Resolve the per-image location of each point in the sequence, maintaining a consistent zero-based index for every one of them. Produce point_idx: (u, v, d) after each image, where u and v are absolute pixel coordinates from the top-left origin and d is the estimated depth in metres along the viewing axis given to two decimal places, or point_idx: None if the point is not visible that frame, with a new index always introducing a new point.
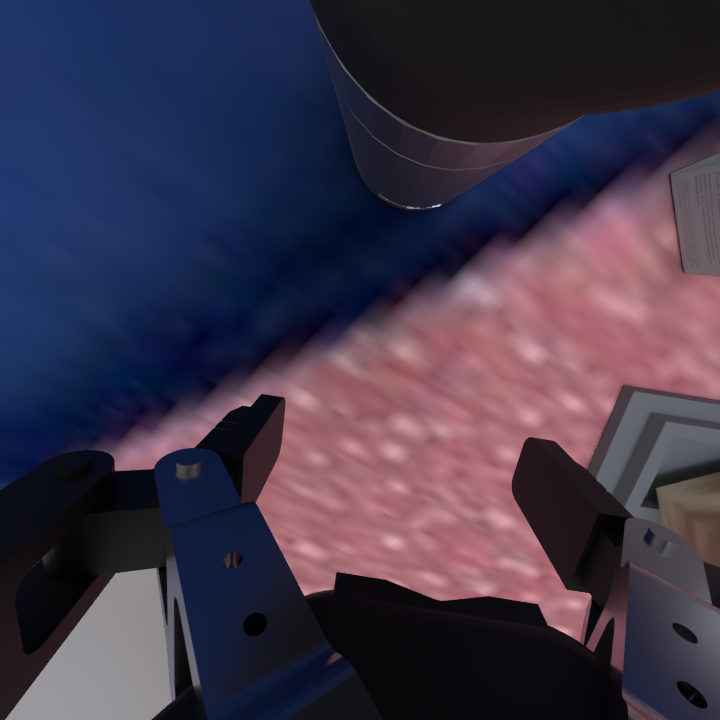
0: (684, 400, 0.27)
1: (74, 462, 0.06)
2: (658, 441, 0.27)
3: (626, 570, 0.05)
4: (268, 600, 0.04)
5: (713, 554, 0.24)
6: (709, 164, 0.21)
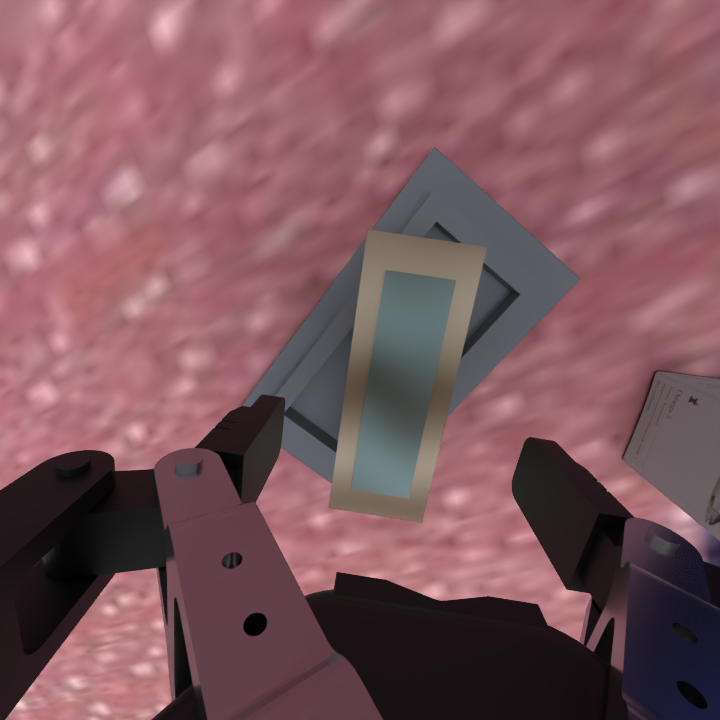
0: (529, 328, 0.23)
1: (74, 462, 0.06)
2: (527, 274, 0.20)
3: (626, 570, 0.05)
4: (268, 600, 0.04)
5: None
6: None
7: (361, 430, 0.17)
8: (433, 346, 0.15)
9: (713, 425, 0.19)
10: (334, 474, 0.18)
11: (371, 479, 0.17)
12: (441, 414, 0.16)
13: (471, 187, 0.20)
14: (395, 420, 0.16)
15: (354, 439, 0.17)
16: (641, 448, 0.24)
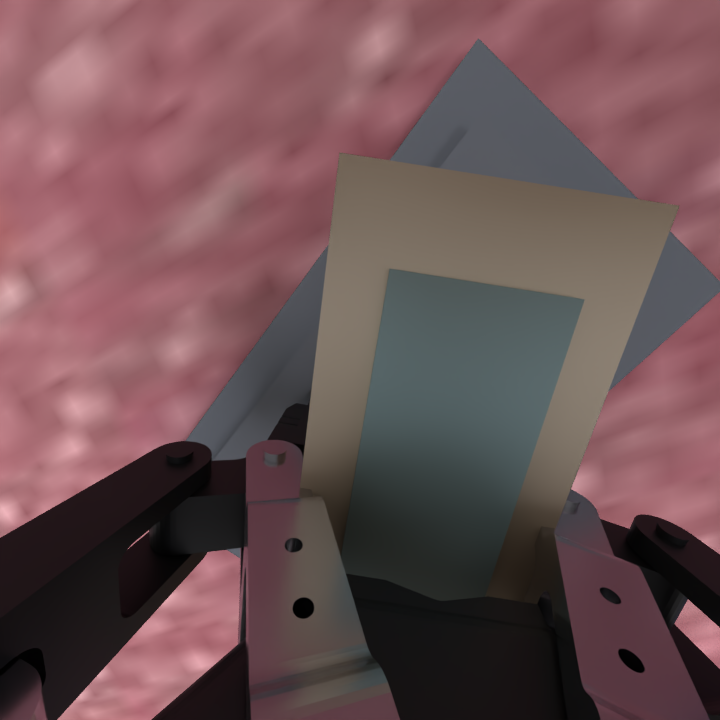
0: (626, 368, 0.13)
1: (181, 451, 0.07)
2: None
3: (552, 542, 0.06)
4: (318, 589, 0.04)
5: None
6: None
7: None
8: (509, 463, 0.06)
9: None
10: None
11: None
12: None
13: (543, 119, 0.11)
14: None
15: None
16: None
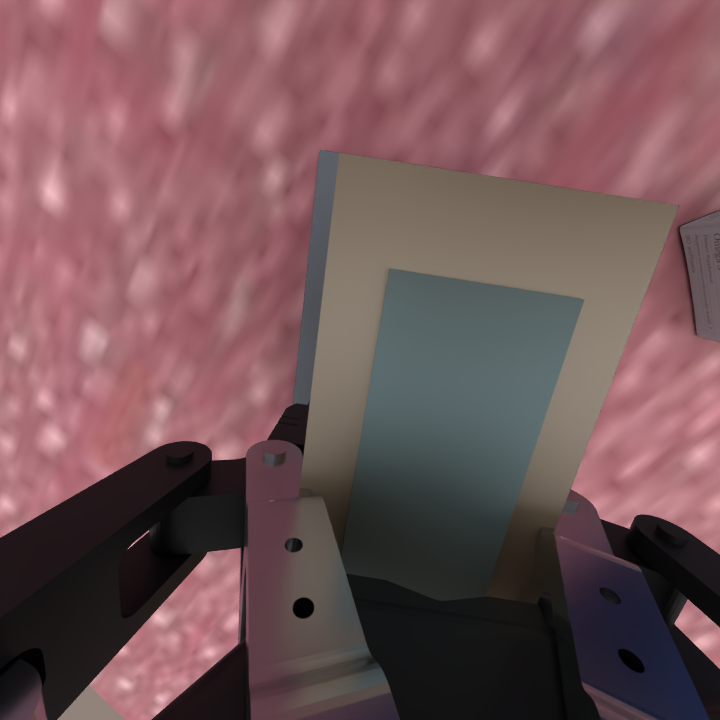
0: None
1: (180, 452, 0.07)
2: None
3: (551, 542, 0.06)
4: (318, 589, 0.04)
5: None
6: None
7: None
8: (509, 463, 0.06)
9: None
10: None
11: None
12: None
13: None
14: None
15: None
16: (710, 314, 0.20)
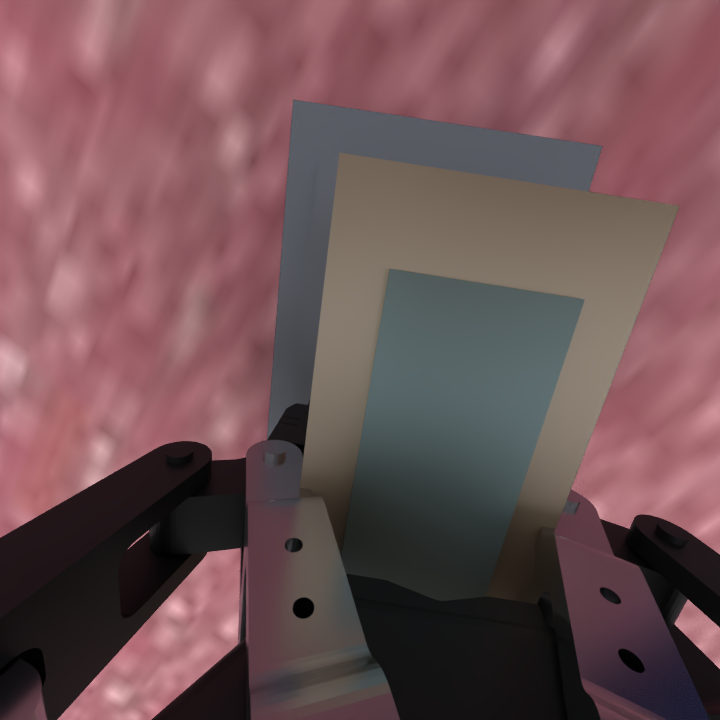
0: None
1: (180, 452, 0.07)
2: None
3: (552, 542, 0.06)
4: (318, 590, 0.04)
5: None
6: None
7: None
8: (509, 463, 0.06)
9: None
10: None
11: None
12: None
13: (372, 120, 0.13)
14: None
15: None
16: None
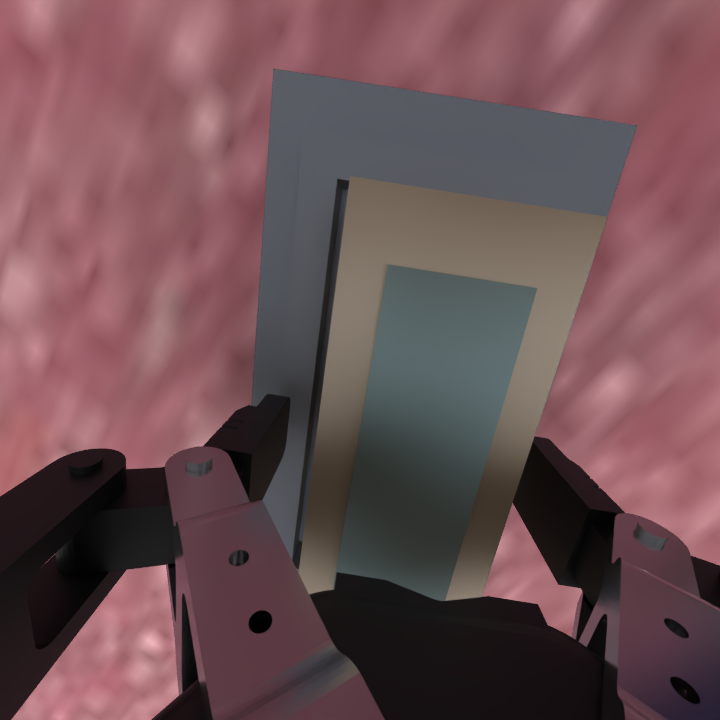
0: None
1: (87, 461, 0.06)
2: (541, 172, 0.10)
3: (617, 566, 0.05)
4: (273, 598, 0.04)
5: None
6: None
7: (340, 563, 0.09)
8: (483, 418, 0.08)
9: None
10: None
11: None
12: (489, 536, 0.09)
13: (367, 94, 0.11)
14: (402, 547, 0.09)
15: (329, 574, 0.09)
16: None
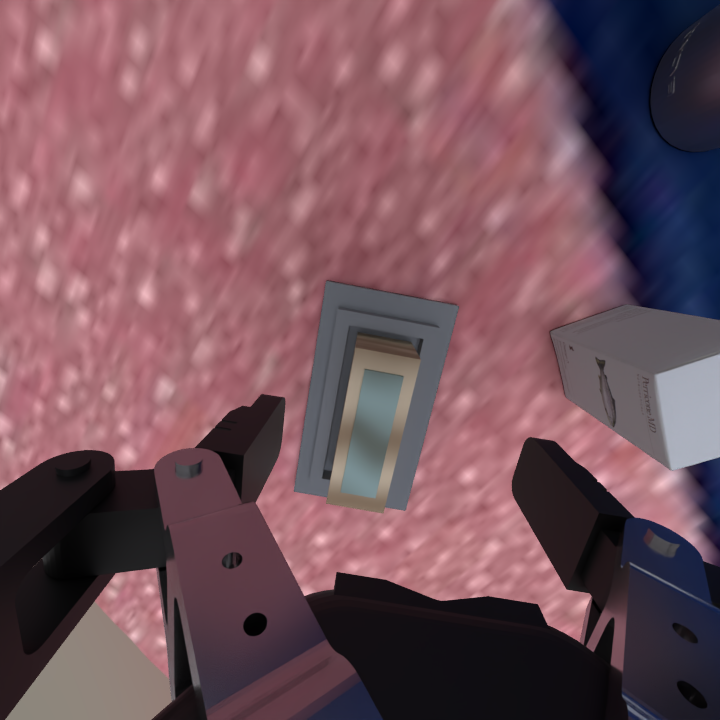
0: (446, 349, 0.32)
1: (74, 462, 0.06)
2: (421, 326, 0.30)
3: (626, 570, 0.05)
4: (268, 600, 0.04)
5: (398, 352, 0.27)
6: (651, 309, 0.29)
7: (348, 457, 0.28)
8: (391, 411, 0.27)
9: (584, 362, 0.28)
10: (330, 483, 0.29)
11: (353, 486, 0.29)
12: (395, 448, 0.28)
13: (360, 291, 0.31)
14: (368, 451, 0.28)
15: (344, 462, 0.28)
16: (568, 386, 0.32)
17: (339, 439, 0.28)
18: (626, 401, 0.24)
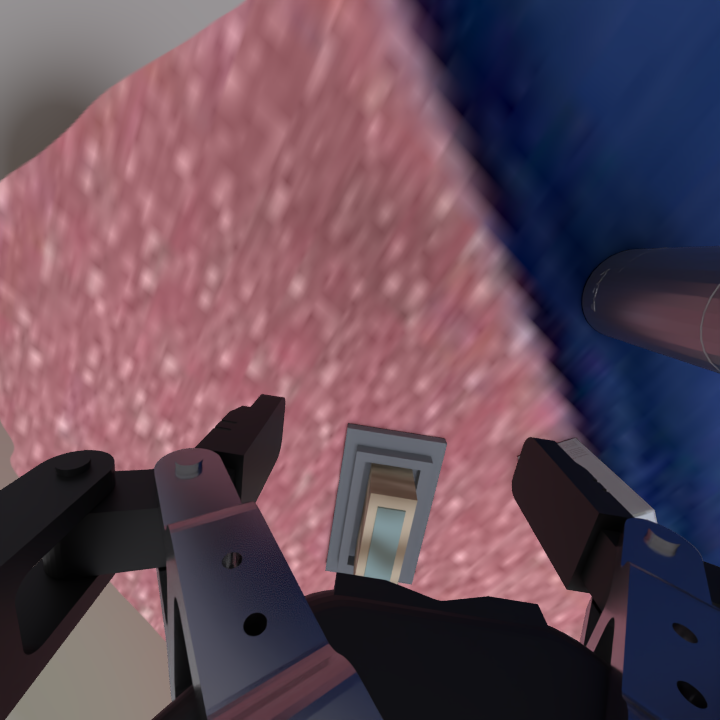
0: (438, 472, 0.42)
1: (75, 462, 0.06)
2: (418, 462, 0.40)
3: (626, 570, 0.05)
4: (268, 600, 0.04)
5: (401, 491, 0.38)
6: None
7: (367, 563, 0.39)
8: (397, 533, 0.38)
9: None
10: None
11: None
12: (401, 557, 0.39)
13: (373, 434, 0.41)
14: (381, 559, 0.39)
15: (364, 565, 0.39)
16: None
17: (360, 551, 0.39)
18: None
